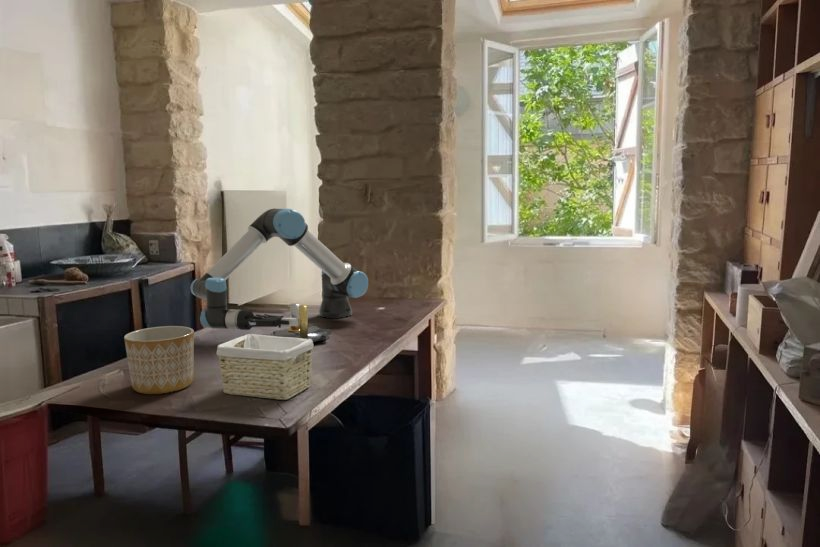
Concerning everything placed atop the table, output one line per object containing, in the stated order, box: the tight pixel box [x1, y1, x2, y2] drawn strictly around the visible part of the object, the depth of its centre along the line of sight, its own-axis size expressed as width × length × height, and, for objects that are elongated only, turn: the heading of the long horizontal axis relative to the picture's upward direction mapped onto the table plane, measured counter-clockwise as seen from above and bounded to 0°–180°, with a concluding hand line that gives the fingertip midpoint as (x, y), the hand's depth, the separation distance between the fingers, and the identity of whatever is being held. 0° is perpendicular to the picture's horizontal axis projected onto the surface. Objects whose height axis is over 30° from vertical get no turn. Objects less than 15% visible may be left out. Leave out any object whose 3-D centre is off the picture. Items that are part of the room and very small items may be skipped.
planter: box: [123, 325, 195, 395], centre depth 187 cm, size 19×19×16 cm
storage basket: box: [216, 333, 315, 401], centre depth 182 cm, size 24×16×15 cm
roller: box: [289, 302, 301, 330], centre depth 246 cm, size 4×4×10 cm
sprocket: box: [269, 304, 332, 343], centre depth 240 cm, size 23×23×14 cm
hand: (298, 322), depth 232 cm, fingers closed
